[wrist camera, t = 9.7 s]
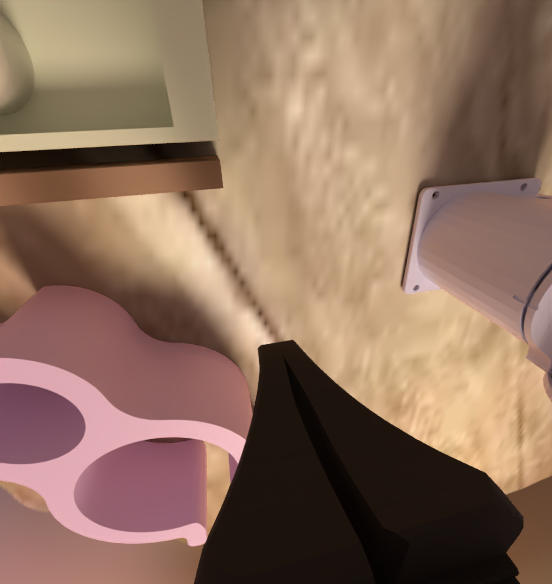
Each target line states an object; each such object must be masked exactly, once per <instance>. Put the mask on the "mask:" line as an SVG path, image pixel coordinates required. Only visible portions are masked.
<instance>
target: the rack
mask: <svg viewBox="0 0 552 584" xmlns="http://www.w3.org/2000/svg"><path fill="white" fill-rule="evenodd" d="M217 188H223V182H222V174H221V166H220V160H219V158H218V156H201V157H186V158H170V159H154V160H138V161H122V162H106V163H90V164H74V165H59V166H43V167H27V168H11V169H0V206H7V205H19V204H32V203H44V202H56V201H69V200H81V199H94V198H106V197H118V196H131V195H143V194H155V193H168V192H180V191H192V190H205V189H217Z"/></svg>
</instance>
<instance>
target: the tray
mask: <svg viewBox="0 0 552 584" xmlns="http://www.w3.org/2000/svg"><path fill="white" fill-rule="evenodd" d="M0 13H1V14H2V15H3V16H4V17H5V18H6V19H7V20H8V21H9V22H10V23H11V25H12V26H13V27H14V28H15V30H16V31H17V32H18V34H19V35H20V37H21V38H22V40H23V42H24V44H25V45H26V47H27V50H28V52H29V54H30V57H31V60H32V64H33V69H34V78H35V80H34V89H33V93H32V95H31V97H30V99H29V101H28V102H27V104H26V105H25V106H24V107H23V108H21V109H20V110H19V111H17V112H15V113H12V114H9V115H3V116H0V152H10V151H29V150H47V149H65V148H84V147H102V146H120V145H139V144H157V143H175V142H177V143H180V142H198V141H216V140H219V134H218V126H217V118H216V109H215V101H214V93H213V85H212V77H211V69H210V60H209V52H208V44H207V36H206V28H205V20H204V12H203V3H202V0H0Z"/></svg>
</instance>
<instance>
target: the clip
mask: <svg viewBox="0 0 552 584" xmlns="http://www.w3.org/2000/svg"><path fill="white" fill-rule="evenodd" d="M252 416H253V413H252V408H251V402H250V396H249V390H248V385H247V382H246V379H245V377H244V375H243V373H242V372H241V370H240V369H239V368H238V367H237V366H236V365H235V364H234V363H233V362H232V361H231V360H230V359H228V358H227V357H225V356H224V355H222V354H220V353H218V352H216V351H214V350H212V349H209V348H206V347H203V346H199V345H194V344H187V343H171V342H164V341H160V340H157V339H154V338H152V337H150V336H148V335H147V334H146V333H144V332H143V331H142V330H141V329H140V328H139V327H138V326H137V324H136V323H135V321H134V320H133V318H132V317H131V316H130V314H129V313H128V312H127V311H126V310H125V309H124V308H123V307H121V306H120V305H119V304H118V303H116V302H115V301H113V300H112V299H110V298H108V297H106V296H104V295H102V294H100V293H98V292H95V291H92V290H89V289H85V288H81V287H75V286H66V285H53V286H45V287H42V288H41V289H40V290H39V291H38V292H37V293H36V294H35V295H34V296H32V297H31V298H30V299H29V300H28V301H27V302H26V303H25V304H24V305H23V306H22V307H21V308H20V309H19V310H18V311H16V312H15V313H14V314H13V315H12V316H11V317H10V318H9V319H8V320H7V321H6V322H3V323H0V480H2V481H9V482H13V483H17V484H21V485H24V486H26V487H29V488H31V489H33V490H35V491H36V492H38V493H39V494H40V495H41V496H42V497H43V498H44V499H45V501H46V503H47V506H48V508H49V510H50V512H51V513H52V515H53V516H54V517H55V518H56V519H57V520H58V521H59V522H60V523H61V524H63V525H64V526H65V527H67V528H68V529H70V530H72V531H74V532H76V533H78V534H81V535H83V536H86V537H89V538H93V539H97V540H102V541H107V542H115V543H152V542H159V541H166V540H171V539H176V538H186V539H187V541H188V545H190V546H197V545H201V544H204V543H205V542H206V540H207V454H206V446H205V444H204V443H203V441H206V442H209V443H212V444H215V445H217V446H219V447H221V448H223V449H224V450H226V451H227V452H228V453H229V466H230V480H231V482H232V479H233V477H234V474H235V472H236V469H237V466H238V463H239V460H240V457H241V454H242V451H243V448H244V445H245V442H246V438H247V435H248V431H249V428H250V424H251V420H252ZM164 437H183V438H192V439H191V440H188V441H183V442H177V443H154V442H148V441H144V440H147V439H154V438H164Z"/></svg>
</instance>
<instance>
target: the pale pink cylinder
mask: <svg viewBox="0 0 552 584" xmlns="http://www.w3.org/2000/svg"><path fill="white" fill-rule="evenodd" d="M34 80H35V78H34V69H33V64H32V60H31V57H30V54H29V52H28V50H27V47H26V45H25V44H24V42H23V40H22V38H21V37H20V35H19V34H18V32H17V31H16V30H15V28H14V27H13V26H12V25H11V23H10V22H9V21H8V20H7V19H6V18H5V17H4V16H3V15H2V14H1V13H0V116H3V115H9V114H12V113H15V112H17V111H19V110H20V109H21V108H23V107H24V106H25V105H26V104H27V102H28V101H29V99H30V97H31V95H32V93H33V89H34Z"/></svg>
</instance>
